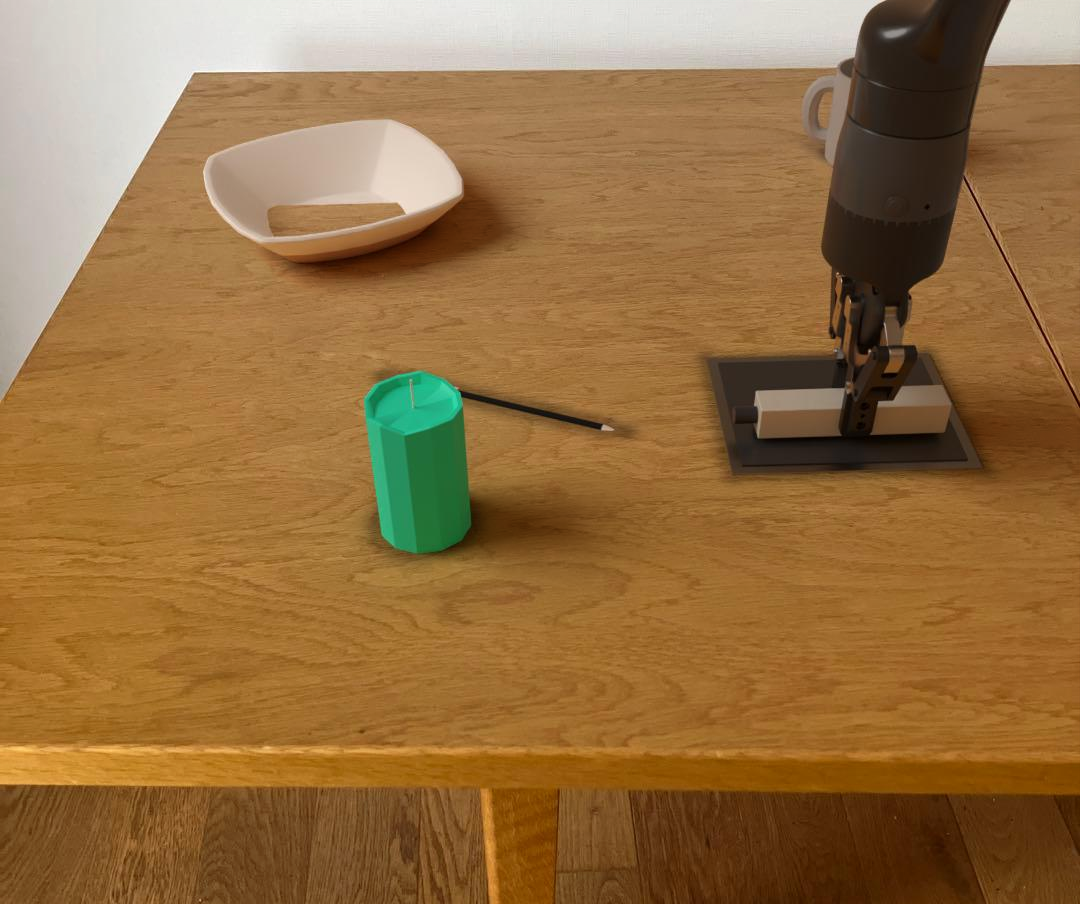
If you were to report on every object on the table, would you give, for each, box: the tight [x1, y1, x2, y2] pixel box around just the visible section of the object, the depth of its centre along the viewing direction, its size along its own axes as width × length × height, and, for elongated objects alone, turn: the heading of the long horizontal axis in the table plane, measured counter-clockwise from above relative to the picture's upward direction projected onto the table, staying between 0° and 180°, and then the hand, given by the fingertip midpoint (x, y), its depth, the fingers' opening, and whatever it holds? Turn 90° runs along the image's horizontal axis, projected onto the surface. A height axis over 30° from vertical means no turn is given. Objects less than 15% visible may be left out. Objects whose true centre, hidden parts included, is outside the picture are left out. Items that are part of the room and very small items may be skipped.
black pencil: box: [454, 386, 615, 432], centre depth 87 cm, size 1×19×1 cm, turn 67°
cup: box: [800, 56, 855, 168], centre depth 116 cm, size 7×10×9 cm
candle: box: [363, 370, 472, 555], centre depth 74 cm, size 6×6×12 cm
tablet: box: [705, 352, 984, 476], centre depth 86 cm, size 17×14×1 cm
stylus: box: [732, 385, 952, 438], centre depth 83 cm, size 15×2×2 cm, turn 92°
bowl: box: [202, 118, 465, 264], centre depth 108 cm, size 22×22×5 cm
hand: (849, 419), depth 83 cm, fingers closed on stylus, 2 cm apart
